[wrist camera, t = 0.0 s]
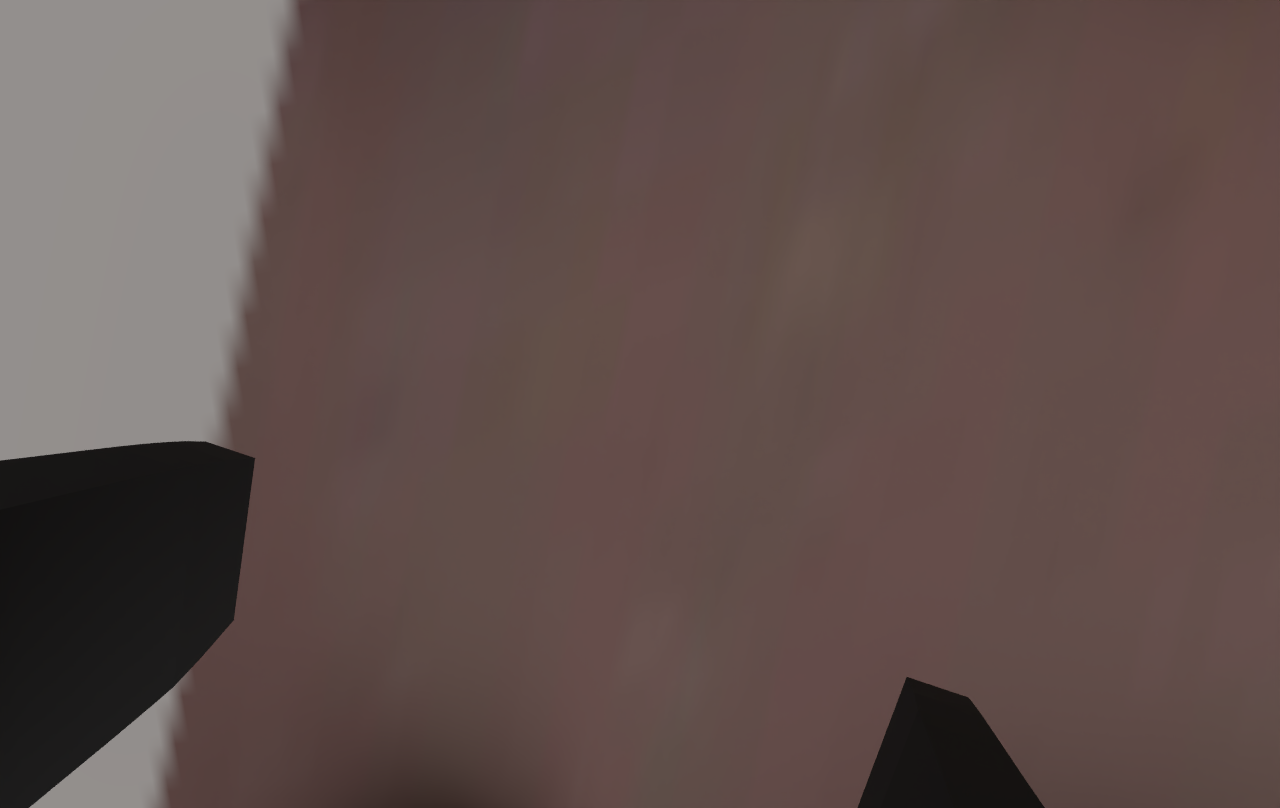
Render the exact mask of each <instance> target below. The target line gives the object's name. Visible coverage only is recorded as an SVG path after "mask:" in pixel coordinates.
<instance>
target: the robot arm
mask: <svg viewBox="0 0 1280 808" xmlns="http://www.w3.org/2000/svg"><path fill="white" fill-rule="evenodd" d="M254 461H255V458H253V457H250V456H247V455H244V454H241V453H238V452H235V451H232V450H229V449H226V448H223V447H220V446H217V445H214V444H211V443H208V442H194V441H181V442H163V443H150V444H139V445H130V446H120V447H111V448H102V449H94V450H85V451H77V452H69V453H60V454H53V455H44V456H35V457H27V458H19V459H10V460H2V461H0V808H29V807H30V806H31V805H33V804H34V803H35V802H36V801H38V800H39V799H40V798H41V797H42V796H44V795H45V794H46V793H47V792H48V791H50V790H51V789H52V788H53V787H55V786H56V785H57V784H58V783H59V782H61V781H62V780H63V779H64V778H65V777H67V776H68V775H69V774H70V773H71V772H73V771H74V770H75V769H76V768H78V767H79V766H80V765H81V764H82V763H84V762H85V761H86V760H87V759H88V758H90V757H91V756H92V755H93V754H95V752H97V751H98V750H99V749H101V748H102V747H103V746H104V745H105V744H107V743H108V742H109V741H110V740H111V739H113V738H114V737H115V736H116V735H118V734H119V733H120V732H121V731H122V730H123V729H125V728H126V727H127V726H128V725H129V724H131V723H132V722H133V721H134V720H135V719H136V718H138V717H139V716H140V715H141V714H142V713H143V712H145V711H146V710H147V709H148V708H150V707H151V706H152V705H153V704H154V703H155V702H157V701H158V700H159V699H160V698H161V697H162V696H164V695H165V694H166V693H167V692H168V691H169V690H170V689H172V688H173V687H174V686H175V685H176V684H177V683H178V681H179V680H180V679H181V678H182V677H183V676H184V675H185V674H186V673H187V672H188V671H189V670H190V669H191V668H192V667H193V666H194V665H195V663H196V662H197V661H198V660H199V659H200V658H201V657H202V656H203V655H204V654H205V652H206V651H207V650H208V649H209V648H210V647H211V646H212V644H213V643H214V642H215V641H216V640H217V639H218V638H219V636H220V635H221V634H222V633H223V632H224V631H225V629H226V628H227V627H228V626H229V625H230V624H231V623H232V621H233V620H234V613H235V606H236V598H237V591H238V583H239V575H240V568H241V560H242V553H243V545H244V537H245V530H246V522H247V515H248V507H249V499H250V492H251V484H252V476H253V469H254ZM858 808H1045V807H1044V806H1043V805H1042V803H1041V802H1040V800H1039V799H1038V797H1037V796H1036V795H1035V793H1034V792H1033V790H1032V789H1031V787H1030V786H1029V784H1028V783H1027V782H1026V780H1025V779H1024V777H1023V776H1022V774H1021V773H1020V771H1019V770H1018V768H1017V767H1016V765H1015V764H1014V762H1013V761H1012V759H1011V758H1010V756H1009V755H1008V753H1007V752H1006V750H1005V749H1004V747H1003V746H1002V744H1001V743H1000V741H999V740H998V738H997V737H996V735H995V734H994V732H993V731H992V730H991V728H990V727H989V725H988V724H987V722H986V721H985V719H984V718H983V716H982V715H981V713H980V712H979V711H978V709H977V708H976V707H975V705H974V704H973V703H972V701H971V700H970V699H969V698H968V697H965V696H962V695H959V694H956V693H953V692H950V691H947V690H944V689H941V688H938V687H935V686H932V685H929V684H926V683H923V682H921V681H918V680H915V679H912V678H909V677H907V678H906V680H905V683H904V686H903V688H902V691H901V694H900V696H899V699H898V702H897V704H896V707H895V710H894V712H893V715H892V718H891V720H890V723H889V726H888V728H887V731H886V734H885V736H884V739H883V742H882V744H881V747H880V750H879V752H878V755H877V758H876V760H875V763H874V766H873V768H872V771H871V774H870V776H869V779H868V781H867V784H866V787H865V789H864V792H863V795H862V797H861V800H860V803H859V805H858Z"/></svg>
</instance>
